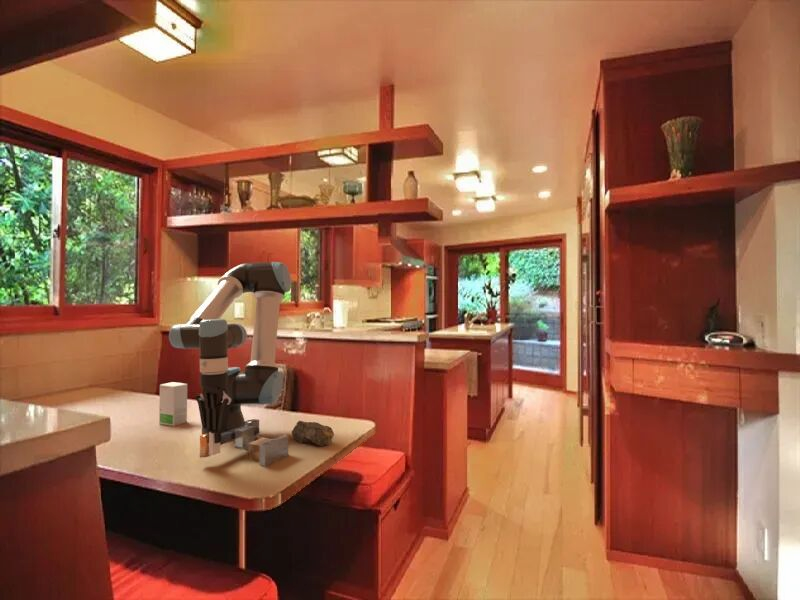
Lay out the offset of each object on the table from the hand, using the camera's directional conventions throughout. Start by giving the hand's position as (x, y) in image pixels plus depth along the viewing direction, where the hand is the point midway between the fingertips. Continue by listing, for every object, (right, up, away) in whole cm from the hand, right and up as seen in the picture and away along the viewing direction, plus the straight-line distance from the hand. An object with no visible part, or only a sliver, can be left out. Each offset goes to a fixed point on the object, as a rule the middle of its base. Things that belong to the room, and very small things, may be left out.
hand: (214, 453), depth 125 cm
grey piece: (+8, -4, +13) cm, 16 cm away
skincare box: (-36, -4, +46) cm, 58 cm away
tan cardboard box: (+11, -4, +8) cm, 14 cm away
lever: (+2, -1, +10) cm, 10 cm away
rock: (+24, -4, +22) cm, 33 cm away
